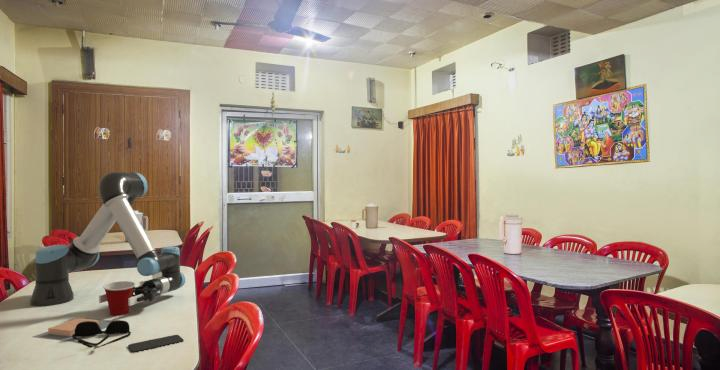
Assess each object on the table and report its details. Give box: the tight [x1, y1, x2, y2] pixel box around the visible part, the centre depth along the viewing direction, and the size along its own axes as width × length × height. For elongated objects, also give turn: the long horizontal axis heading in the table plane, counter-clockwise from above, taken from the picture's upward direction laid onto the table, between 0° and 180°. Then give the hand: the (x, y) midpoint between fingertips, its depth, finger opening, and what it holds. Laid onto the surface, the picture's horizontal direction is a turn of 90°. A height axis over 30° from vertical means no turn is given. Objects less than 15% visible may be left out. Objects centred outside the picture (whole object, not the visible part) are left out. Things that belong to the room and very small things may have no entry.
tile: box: [47, 317, 99, 337], centre depth 144 cm, size 9×2×11 cm
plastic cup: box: [102, 280, 136, 317], centre depth 164 cm, size 11×11×12 cm
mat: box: [32, 317, 113, 343], centre depth 146 cm, size 16×20×1 cm
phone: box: [127, 334, 184, 353], centre depth 134 cm, size 7×1×15 cm
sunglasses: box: [72, 319, 132, 348], centre depth 134 cm, size 17×14×5 cm
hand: (114, 300), depth 160 cm, fingers open, 13 cm apart
